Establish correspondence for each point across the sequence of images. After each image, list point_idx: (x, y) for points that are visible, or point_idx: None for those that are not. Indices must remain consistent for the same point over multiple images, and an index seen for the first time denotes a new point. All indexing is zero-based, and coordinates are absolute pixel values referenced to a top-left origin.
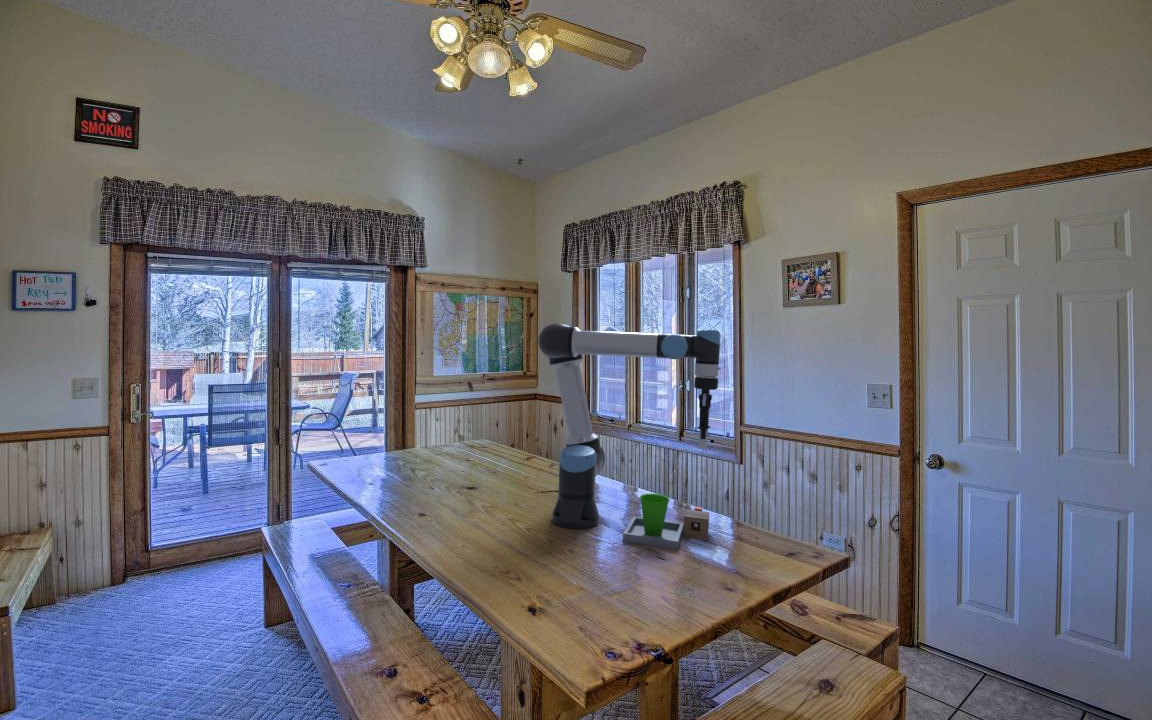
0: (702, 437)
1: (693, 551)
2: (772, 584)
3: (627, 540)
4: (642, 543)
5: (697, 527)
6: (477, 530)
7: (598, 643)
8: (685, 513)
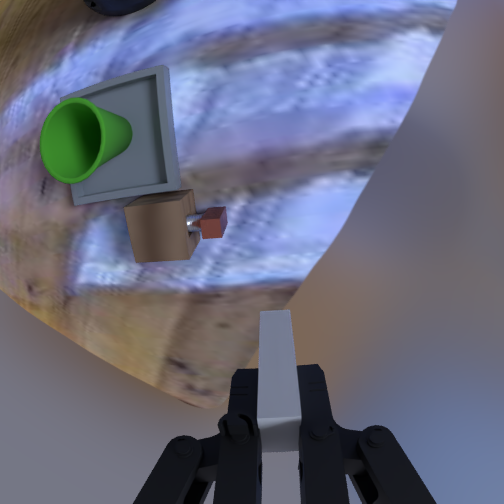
0: (232, 385)
1: (91, 229)
2: (70, 333)
3: None
4: None
5: None
6: None
7: None
8: (144, 205)
